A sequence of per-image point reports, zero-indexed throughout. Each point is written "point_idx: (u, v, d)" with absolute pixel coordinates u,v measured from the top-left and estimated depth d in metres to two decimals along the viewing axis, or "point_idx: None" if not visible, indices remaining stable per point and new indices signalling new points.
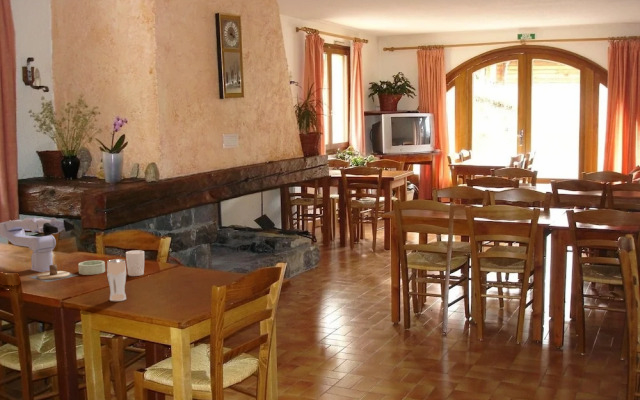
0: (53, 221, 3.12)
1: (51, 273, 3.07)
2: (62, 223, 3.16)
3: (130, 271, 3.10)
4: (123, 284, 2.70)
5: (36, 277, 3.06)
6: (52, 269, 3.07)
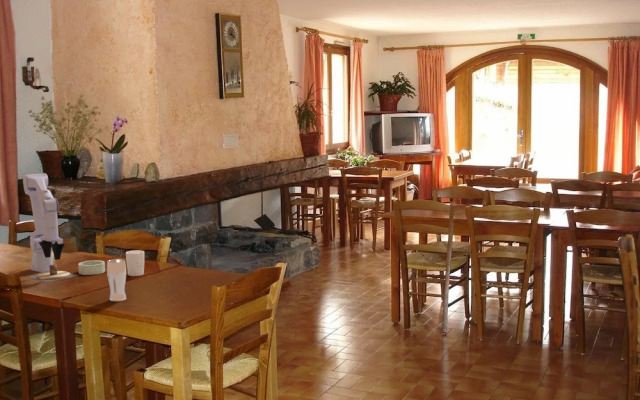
0: (45, 239, 3.05)
1: (51, 273, 3.07)
2: None
3: (130, 271, 3.10)
4: (123, 284, 2.70)
5: (36, 277, 3.06)
6: (52, 269, 3.07)
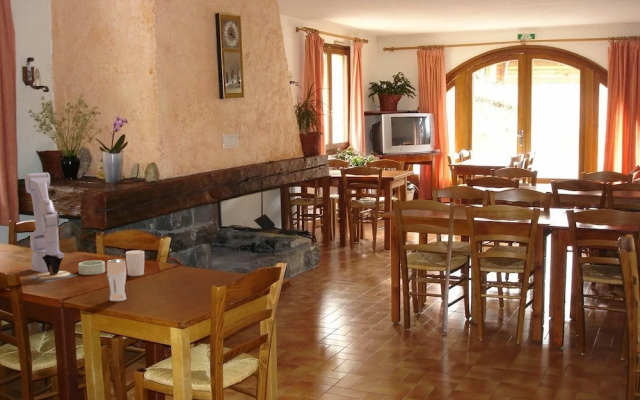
0: None
1: (51, 273, 3.07)
2: (55, 254, 3.04)
3: (130, 271, 3.10)
4: (123, 284, 2.70)
5: (36, 277, 3.06)
6: None
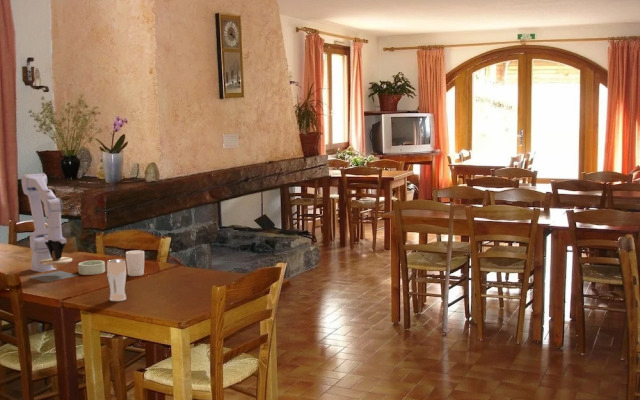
0: (49, 239, 3.05)
1: (54, 259, 3.07)
2: None
3: (130, 271, 3.10)
4: (123, 284, 2.70)
5: (36, 277, 3.06)
6: None
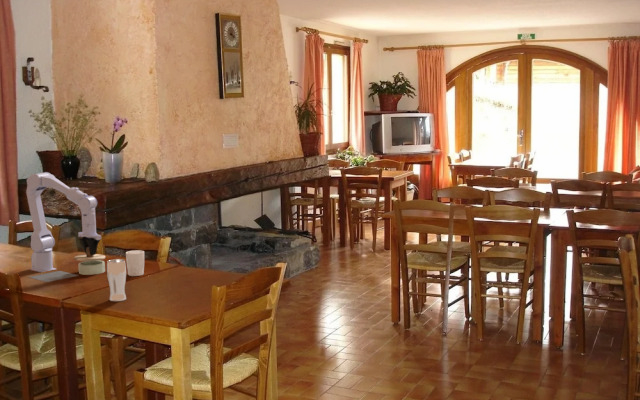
0: None
1: (88, 255, 3.14)
2: (92, 236, 3.11)
3: (130, 271, 3.10)
4: (123, 284, 2.70)
5: (36, 277, 3.06)
6: (89, 251, 3.13)
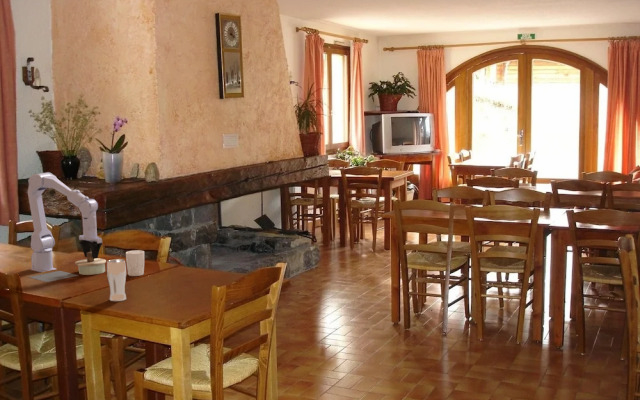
0: (84, 239, 3.13)
1: (88, 260, 3.14)
2: (93, 239, 3.11)
3: (130, 271, 3.10)
4: (123, 284, 2.70)
5: (36, 277, 3.06)
6: (89, 256, 3.14)
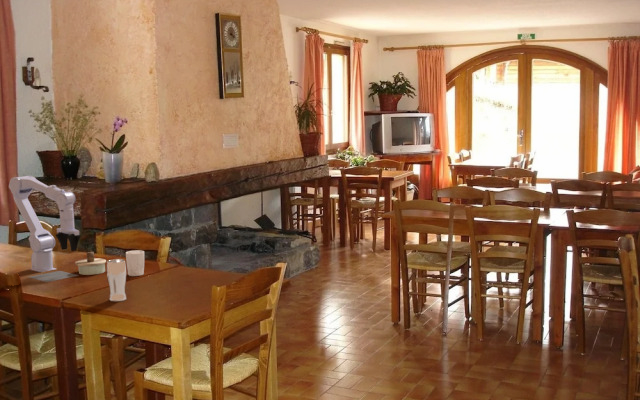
0: (62, 232, 3.13)
1: (88, 260, 3.14)
2: None
3: (130, 271, 3.10)
4: (123, 284, 2.70)
5: (36, 277, 3.06)
6: (89, 256, 3.14)
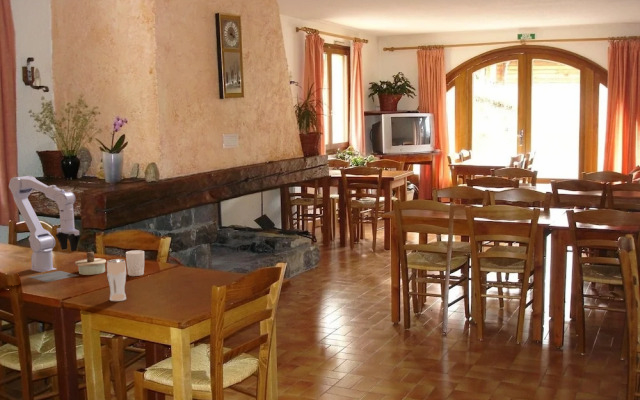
0: (62, 232, 3.13)
1: (88, 260, 3.14)
2: None
3: (130, 271, 3.10)
4: (123, 284, 2.70)
5: (36, 277, 3.06)
6: (89, 256, 3.14)
